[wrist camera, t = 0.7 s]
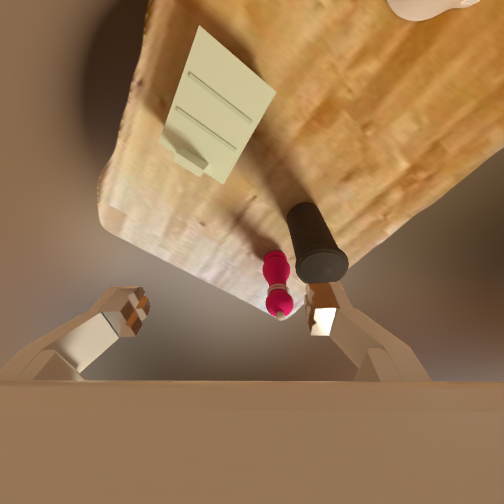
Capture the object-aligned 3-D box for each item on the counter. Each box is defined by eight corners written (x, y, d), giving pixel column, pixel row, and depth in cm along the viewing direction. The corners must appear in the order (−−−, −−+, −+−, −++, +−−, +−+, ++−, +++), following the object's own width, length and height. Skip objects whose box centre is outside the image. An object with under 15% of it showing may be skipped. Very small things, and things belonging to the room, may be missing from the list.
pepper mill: (267, 245, 55) (270, 304, 39) (292, 253, 56) (305, 312, 40) (258, 265, 59) (258, 325, 43) (282, 272, 60) (289, 333, 44)
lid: (202, 29, 29) (189, 12, 24) (275, 92, 33) (278, 90, 28) (162, 141, 38) (147, 147, 32) (224, 181, 41) (219, 192, 36)
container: (295, 239, 54) (310, 297, 38) (278, 213, 50) (287, 265, 33) (327, 223, 51) (358, 279, 35) (311, 194, 47) (339, 240, 30)
